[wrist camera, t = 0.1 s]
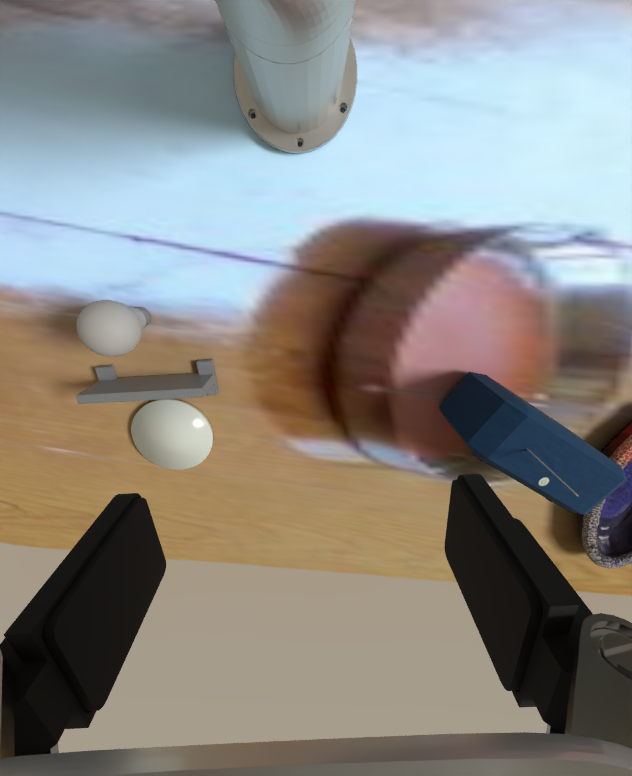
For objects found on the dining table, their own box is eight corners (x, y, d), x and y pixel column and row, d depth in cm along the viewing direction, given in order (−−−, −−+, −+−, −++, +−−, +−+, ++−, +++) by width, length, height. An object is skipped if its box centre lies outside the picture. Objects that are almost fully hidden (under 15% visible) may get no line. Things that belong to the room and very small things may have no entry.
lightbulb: (128, 340, 45) (75, 366, 35) (113, 294, 43) (52, 307, 33) (172, 335, 45) (132, 361, 35) (160, 289, 43) (113, 301, 33)
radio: (429, 410, 50) (498, 505, 32) (469, 363, 47) (569, 437, 29) (529, 470, 54) (641, 584, 36) (570, 430, 52) (715, 532, 33)
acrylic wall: (99, 365, 47) (70, 381, 41) (212, 359, 46) (199, 373, 41) (109, 398, 49) (83, 417, 43) (218, 391, 48) (206, 410, 43)
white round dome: (124, 400, 49) (121, 402, 48) (205, 395, 49) (204, 398, 48) (145, 468, 53) (142, 471, 53) (219, 464, 53) (218, 467, 52)
